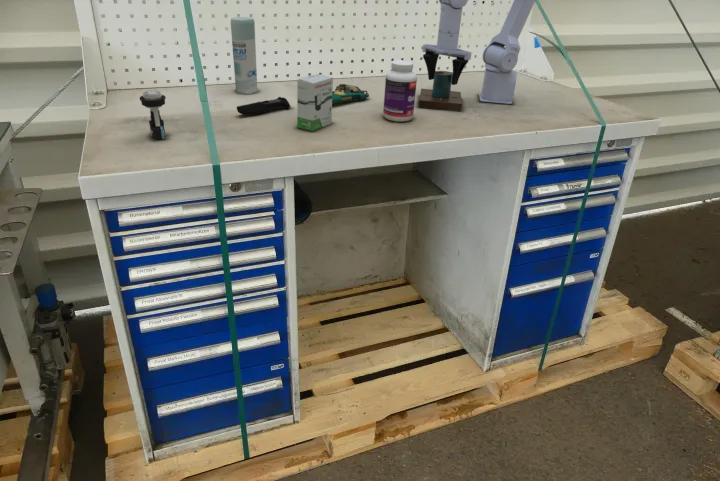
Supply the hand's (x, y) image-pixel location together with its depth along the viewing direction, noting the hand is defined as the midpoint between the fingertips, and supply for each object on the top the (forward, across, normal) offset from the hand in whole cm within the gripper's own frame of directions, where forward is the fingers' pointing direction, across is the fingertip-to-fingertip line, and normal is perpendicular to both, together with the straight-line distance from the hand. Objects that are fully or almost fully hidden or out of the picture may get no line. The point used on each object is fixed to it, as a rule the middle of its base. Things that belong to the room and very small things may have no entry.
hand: (442, 81), depth 151 cm
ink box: (+6, -12, -42) cm, 44 cm away
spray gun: (+6, -23, -19) cm, 30 cm away
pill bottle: (+6, -1, -21) cm, 22 cm away
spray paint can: (+6, -47, -33) cm, 58 cm away
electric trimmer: (+6, -28, -43) cm, 52 cm away
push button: (+6, -32, -73) cm, 80 cm away
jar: (+4, 0, 0) cm, 4 cm away
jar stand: (+6, 0, 0) cm, 6 cm away
